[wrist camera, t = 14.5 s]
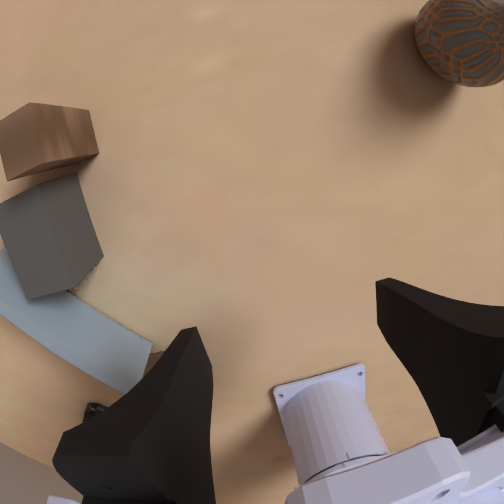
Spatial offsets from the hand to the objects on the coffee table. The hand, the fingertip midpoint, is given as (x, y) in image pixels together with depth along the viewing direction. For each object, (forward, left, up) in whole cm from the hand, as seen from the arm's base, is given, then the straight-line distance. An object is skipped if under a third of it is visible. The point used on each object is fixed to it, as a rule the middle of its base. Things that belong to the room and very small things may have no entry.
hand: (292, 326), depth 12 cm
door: (-1, +15, -9) cm, 18 cm away
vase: (+12, -16, -10) cm, 22 cm away
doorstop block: (+5, +13, -10) cm, 17 cm away
